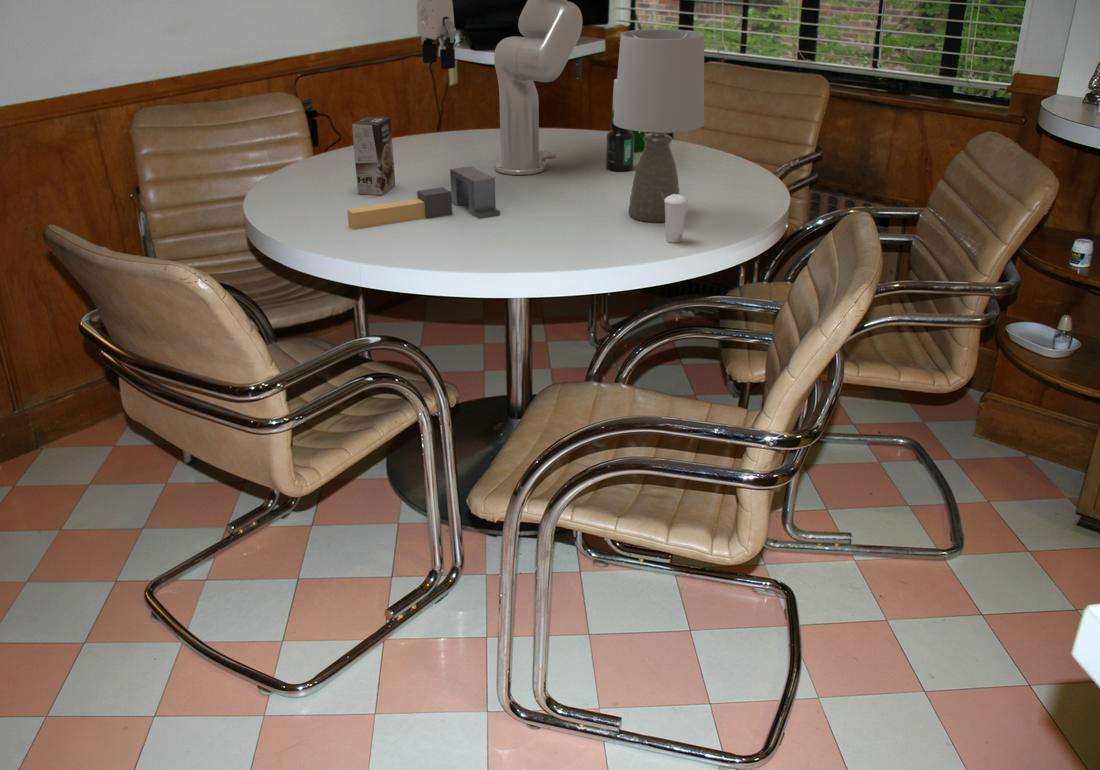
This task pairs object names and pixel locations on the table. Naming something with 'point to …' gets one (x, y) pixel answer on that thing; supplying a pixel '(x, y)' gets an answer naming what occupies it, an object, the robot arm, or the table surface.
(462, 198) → the housing
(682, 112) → the lamp
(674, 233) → the milkshake
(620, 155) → the supplement bottle
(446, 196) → the plug
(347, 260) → the table surface
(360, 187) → the coffee box
